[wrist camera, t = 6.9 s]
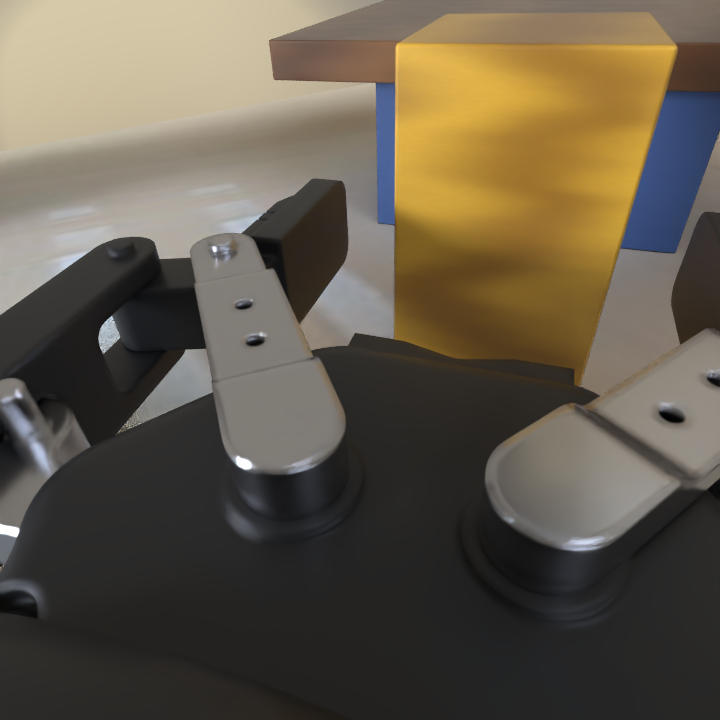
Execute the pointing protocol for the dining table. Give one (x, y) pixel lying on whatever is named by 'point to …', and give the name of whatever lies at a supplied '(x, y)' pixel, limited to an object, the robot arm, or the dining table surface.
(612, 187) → the block
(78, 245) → the dining table surface
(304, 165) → the dining table surface
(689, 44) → the board
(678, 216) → the blue box
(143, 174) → the dining table surface
